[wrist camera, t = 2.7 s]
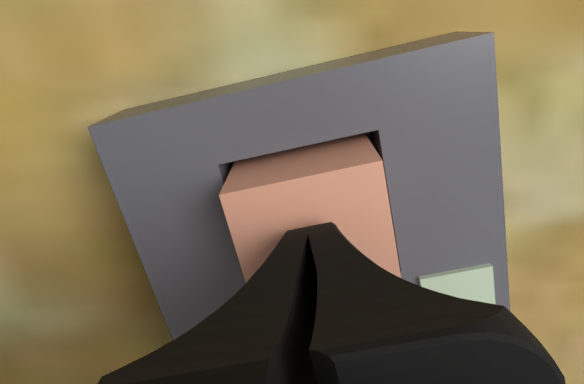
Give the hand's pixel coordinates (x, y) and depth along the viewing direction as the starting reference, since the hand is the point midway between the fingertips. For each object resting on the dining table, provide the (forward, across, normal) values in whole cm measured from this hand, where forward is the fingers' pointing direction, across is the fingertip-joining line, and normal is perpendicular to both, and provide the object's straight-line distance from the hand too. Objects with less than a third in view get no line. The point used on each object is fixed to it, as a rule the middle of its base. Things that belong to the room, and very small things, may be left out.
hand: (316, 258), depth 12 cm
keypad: (+6, 0, +6) cm, 8 cm away
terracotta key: (+4, 0, 0) cm, 4 cm away
